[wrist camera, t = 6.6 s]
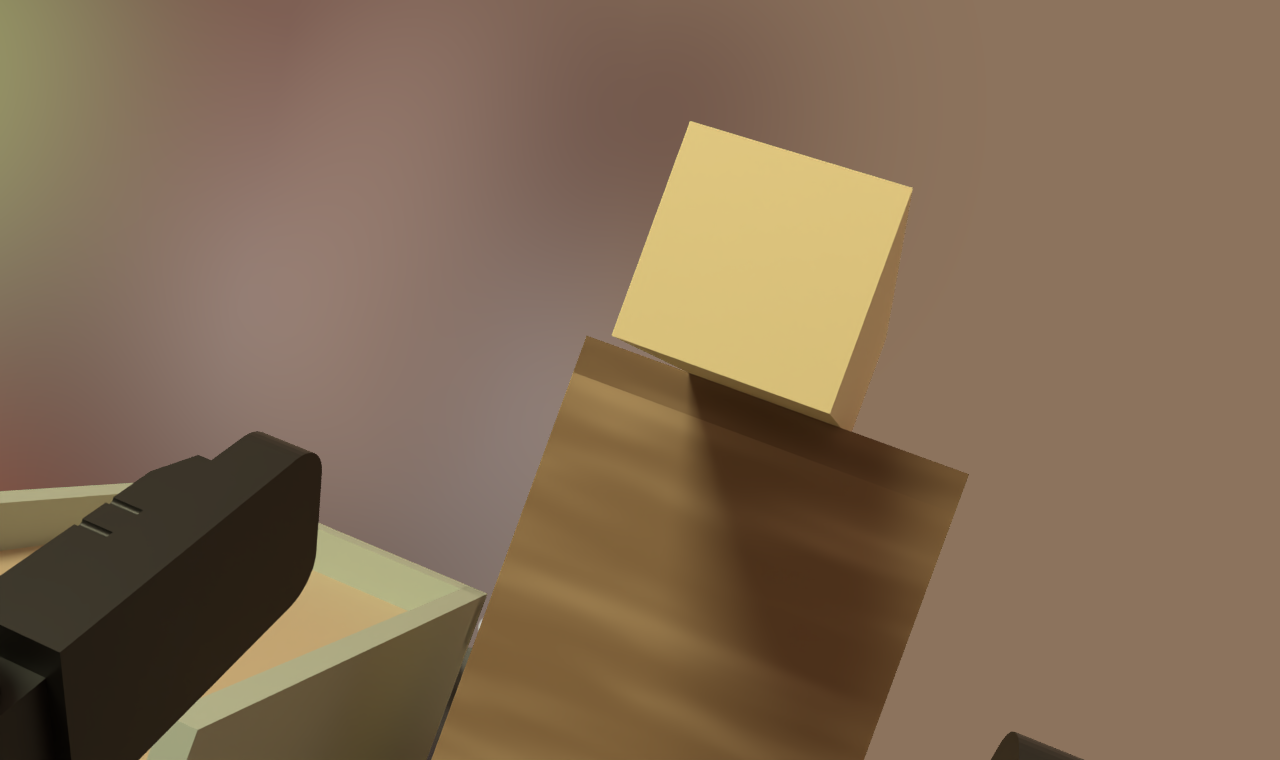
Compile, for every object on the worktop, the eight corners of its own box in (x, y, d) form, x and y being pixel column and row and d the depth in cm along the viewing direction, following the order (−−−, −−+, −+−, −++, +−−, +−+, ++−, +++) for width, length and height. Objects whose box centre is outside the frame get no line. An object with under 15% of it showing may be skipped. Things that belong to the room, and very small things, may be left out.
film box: (829, 414, 17) (912, 188, 17) (611, 335, 18) (690, 121, 18) (849, 438, 38) (886, 338, 38) (749, 402, 39) (785, 304, 39)
